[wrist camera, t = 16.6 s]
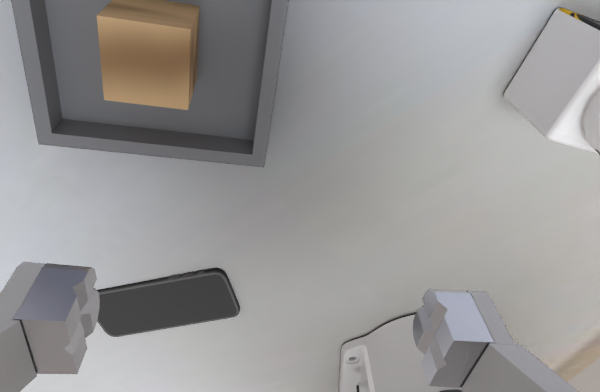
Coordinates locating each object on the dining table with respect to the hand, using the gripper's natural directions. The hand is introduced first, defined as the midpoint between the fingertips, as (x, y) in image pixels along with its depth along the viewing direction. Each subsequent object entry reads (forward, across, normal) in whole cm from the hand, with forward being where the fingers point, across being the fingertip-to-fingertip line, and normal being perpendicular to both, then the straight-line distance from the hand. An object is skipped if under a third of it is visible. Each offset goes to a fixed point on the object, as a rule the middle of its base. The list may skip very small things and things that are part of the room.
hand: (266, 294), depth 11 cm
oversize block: (+24, +7, +2) cm, 25 cm away
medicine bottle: (+25, -23, 0) cm, 34 cm away
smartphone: (+25, +8, +30) cm, 40 cm away
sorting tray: (+24, +7, +2) cm, 26 cm away
